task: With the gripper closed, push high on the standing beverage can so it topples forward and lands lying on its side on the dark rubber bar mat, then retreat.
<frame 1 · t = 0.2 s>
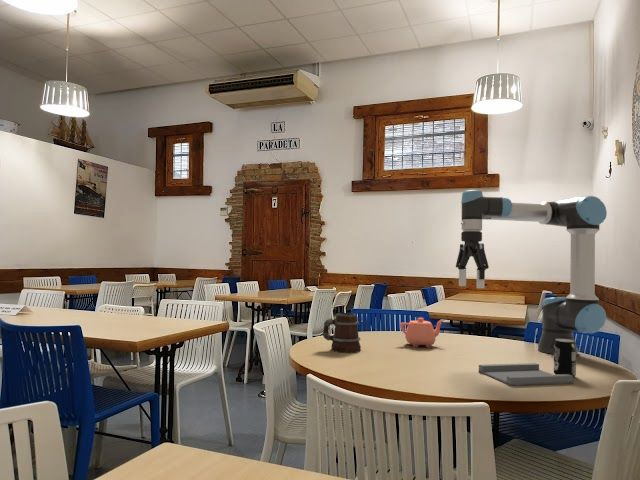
hand: (471, 287, 180), 28 cm above the table, fingers open, 13 cm apart
teapot: (421, 345, 211), on the table
mug: (340, 350, 195), on the table
beverage can: (564, 376, 159), on the table
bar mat: (523, 377, 156), on the table
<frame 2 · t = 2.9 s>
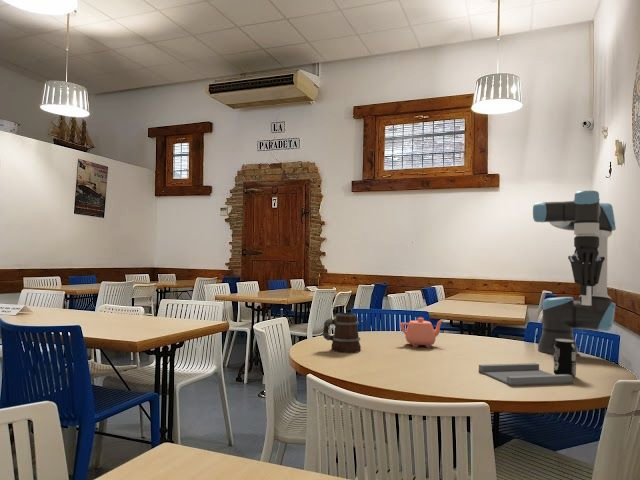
hand: (586, 305, 162), 24 cm above the table, fingers closed
nothing on the table moved.
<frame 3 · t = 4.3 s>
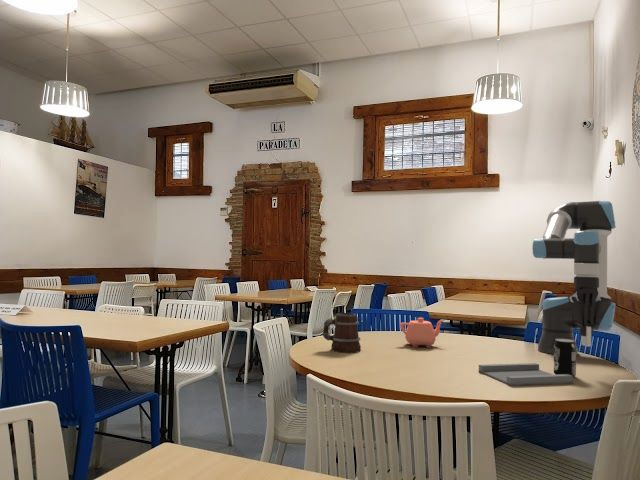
hand: (586, 345, 162), 10 cm above the table, fingers closed
nothing on the table moved.
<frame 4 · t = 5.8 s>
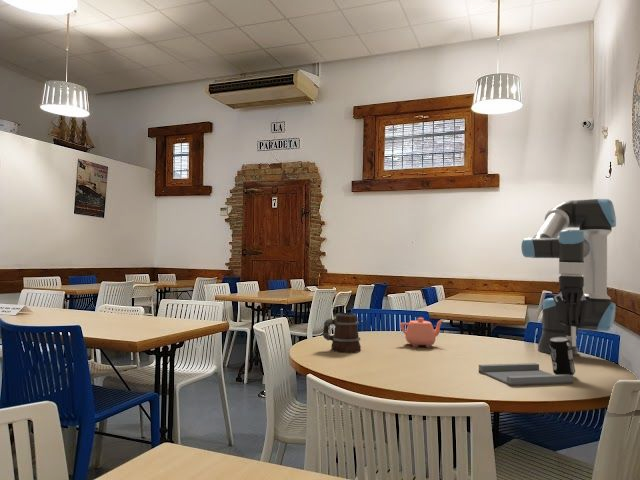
hand: (571, 345, 160), 10 cm above the table, fingers closed
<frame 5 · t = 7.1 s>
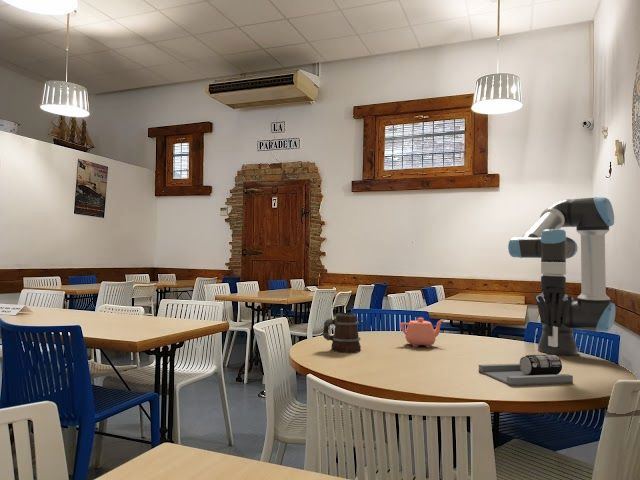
hand: (552, 346, 159), 10 cm above the table, fingers closed
beverage can: (556, 364, 159), point 4 cm above the table, touching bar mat
everything else where it was.
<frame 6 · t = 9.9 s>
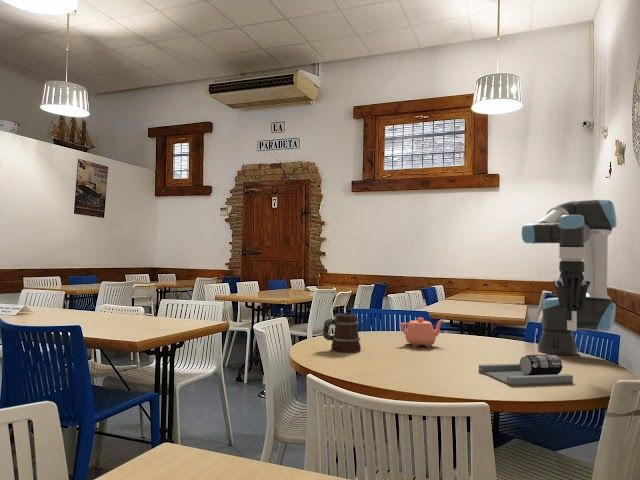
hand: (571, 330, 161), 15 cm above the table, fingers closed
nothing on the table moved.
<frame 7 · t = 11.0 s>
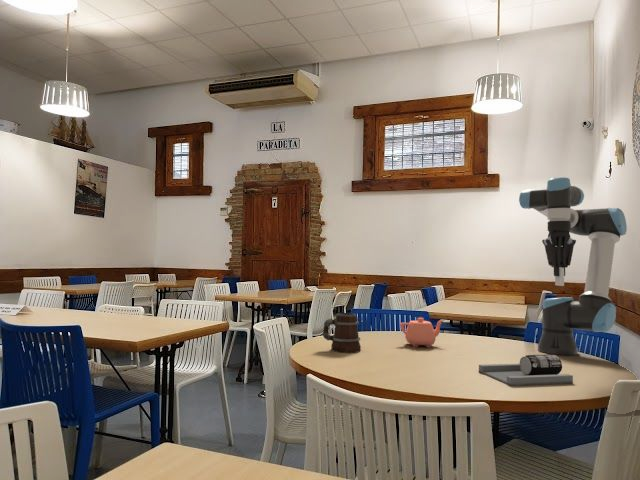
hand: (559, 285, 172), 30 cm above the table, fingers closed
nothing on the table moved.
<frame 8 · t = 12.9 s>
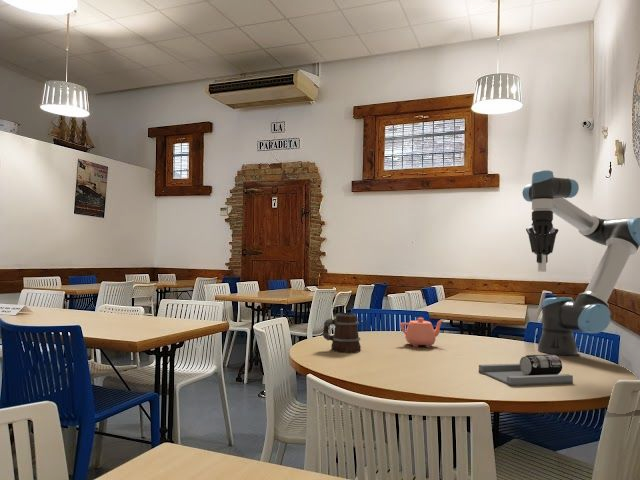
hand: (542, 271, 184), 34 cm above the table, fingers closed
nothing on the table moved.
at the end: beverage can tilted 90°; beverage can inside the target area (12.5 cm from its centre), point 3.9 cm above the table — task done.
